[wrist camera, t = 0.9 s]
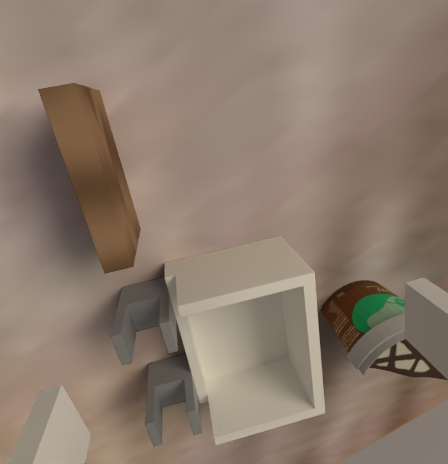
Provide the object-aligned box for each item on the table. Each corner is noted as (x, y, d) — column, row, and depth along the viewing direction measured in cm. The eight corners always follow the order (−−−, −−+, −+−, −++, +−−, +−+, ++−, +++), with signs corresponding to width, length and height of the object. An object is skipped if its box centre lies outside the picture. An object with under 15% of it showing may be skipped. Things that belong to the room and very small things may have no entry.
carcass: (117, 274, 31) (103, 324, 24) (280, 235, 33) (314, 272, 25) (158, 392, 37) (157, 462, 30) (294, 355, 39) (325, 413, 31)
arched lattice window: (418, 283, 38) (499, 337, 29) (394, 325, 40) (464, 390, 31) (331, 260, 35) (391, 314, 26) (309, 307, 37) (358, 374, 28)
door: (74, 95, 25) (38, 89, 18) (99, 90, 26) (74, 82, 18) (119, 233, 30) (104, 273, 23) (140, 228, 30) (133, 266, 23)
